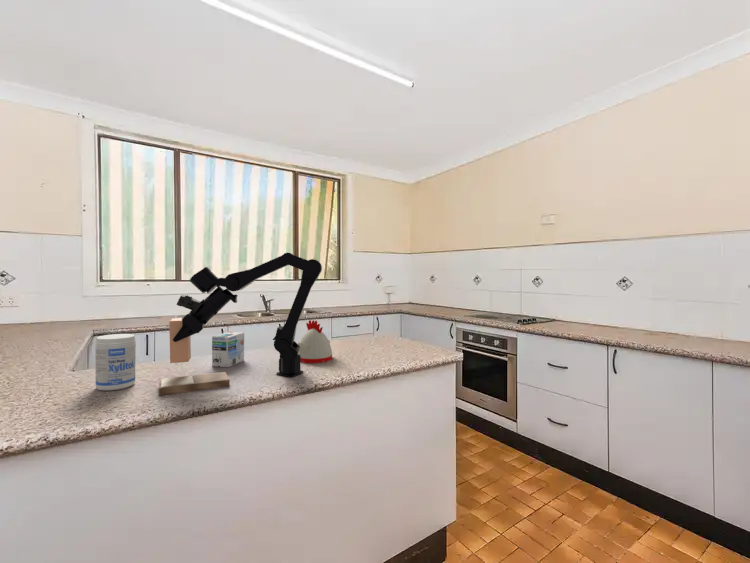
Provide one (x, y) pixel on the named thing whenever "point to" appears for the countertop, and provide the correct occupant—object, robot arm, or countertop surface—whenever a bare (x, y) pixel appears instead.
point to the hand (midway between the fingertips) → (175, 339)
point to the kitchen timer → (314, 345)
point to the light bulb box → (227, 349)
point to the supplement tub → (115, 361)
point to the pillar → (178, 343)
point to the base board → (193, 383)
